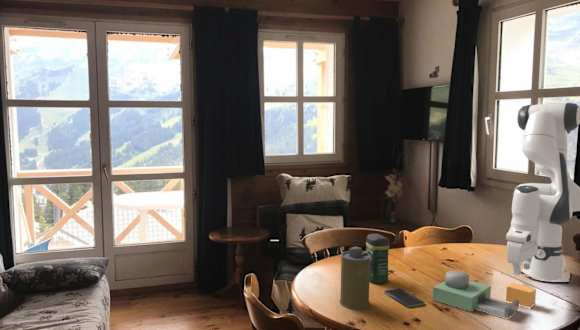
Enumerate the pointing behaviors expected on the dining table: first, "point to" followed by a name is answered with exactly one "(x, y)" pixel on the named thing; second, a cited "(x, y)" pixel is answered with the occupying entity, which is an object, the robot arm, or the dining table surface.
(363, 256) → the canister
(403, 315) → the dining table surface
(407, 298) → the phone
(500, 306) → the open gray drawer
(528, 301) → the orange block
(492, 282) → the dining table surface
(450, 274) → the green block with dome
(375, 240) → the coffee jar
